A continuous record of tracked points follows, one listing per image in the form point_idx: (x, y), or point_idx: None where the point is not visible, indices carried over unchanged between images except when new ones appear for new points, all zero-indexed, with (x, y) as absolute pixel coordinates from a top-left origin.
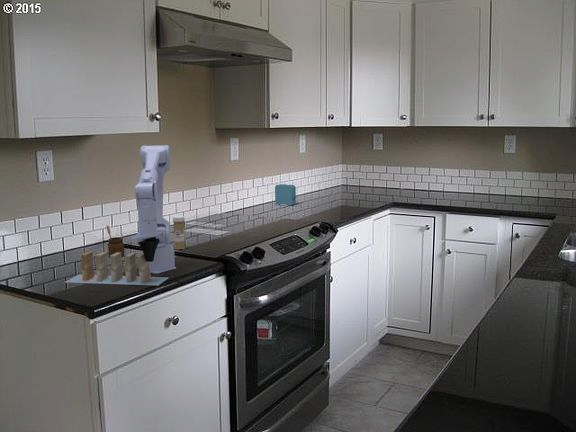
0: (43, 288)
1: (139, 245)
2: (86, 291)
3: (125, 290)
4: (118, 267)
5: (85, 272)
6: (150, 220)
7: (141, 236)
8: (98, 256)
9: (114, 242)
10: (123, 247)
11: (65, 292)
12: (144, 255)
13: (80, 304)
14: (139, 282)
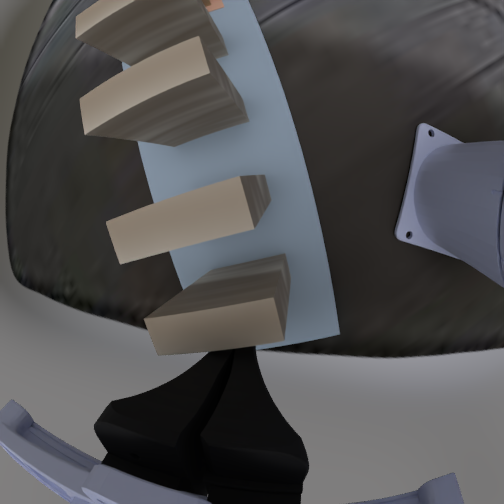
0: (65, 15)
1: (135, 396)
2: (60, 143)
3: (115, 266)
4: (182, 123)
5: None
6: None
7: (55, 491)
8: (79, 33)
9: None
10: None
11: (42, 99)
12: (206, 357)
13: (8, 236)
14: (210, 262)
